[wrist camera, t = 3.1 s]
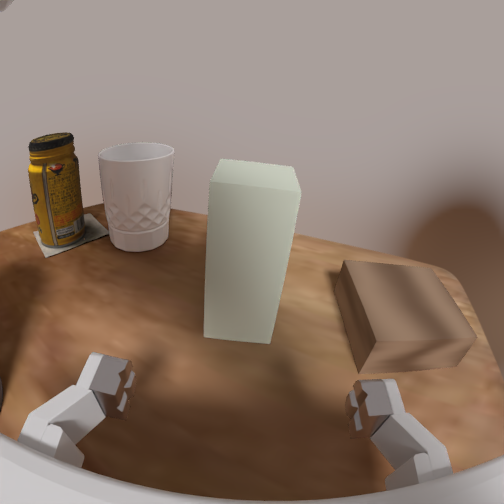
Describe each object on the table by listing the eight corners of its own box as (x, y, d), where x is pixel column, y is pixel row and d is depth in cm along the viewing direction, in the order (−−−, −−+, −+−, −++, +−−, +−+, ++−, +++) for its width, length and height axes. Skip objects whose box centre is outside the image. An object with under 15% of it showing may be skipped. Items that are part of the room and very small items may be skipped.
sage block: (203, 337, 23) (209, 181, 17) (211, 295, 27) (220, 158, 21) (270, 344, 23) (301, 192, 17) (269, 301, 27) (292, 166, 21)
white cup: (177, 222, 38) (179, 142, 33) (168, 258, 31) (167, 161, 26) (117, 220, 37) (112, 142, 32) (96, 253, 30) (86, 161, 25)
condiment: (33, 233, 32) (19, 139, 26) (90, 214, 38) (83, 125, 32) (46, 259, 28) (26, 149, 22) (111, 235, 34) (105, 132, 28)
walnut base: (357, 376, 21) (376, 341, 19) (332, 294, 30) (343, 259, 28) (454, 368, 22) (477, 336, 20) (417, 298, 30) (431, 268, 28)
